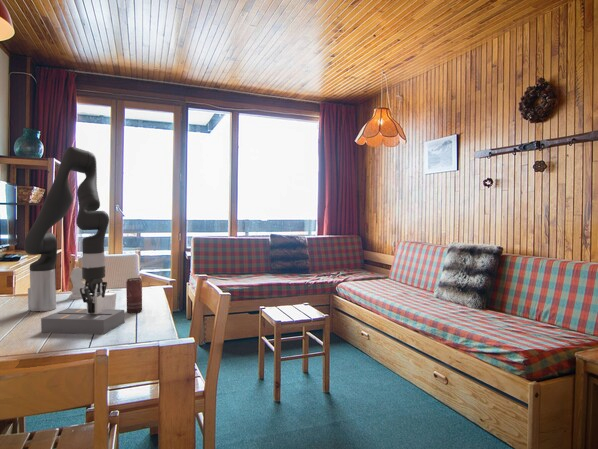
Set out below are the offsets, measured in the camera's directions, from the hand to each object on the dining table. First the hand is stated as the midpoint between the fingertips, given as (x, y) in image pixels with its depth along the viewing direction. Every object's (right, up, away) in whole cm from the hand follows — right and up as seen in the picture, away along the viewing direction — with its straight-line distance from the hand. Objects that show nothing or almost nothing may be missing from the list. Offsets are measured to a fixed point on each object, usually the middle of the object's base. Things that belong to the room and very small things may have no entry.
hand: (94, 311), depth 144 cm
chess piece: (-33, -4, +50) cm, 60 cm away
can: (+5, -5, +23) cm, 24 cm away
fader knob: (0, -2, 0) cm, 2 cm away
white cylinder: (-8, -5, +26) cm, 27 cm away
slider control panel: (-4, -6, +1) cm, 7 cm away
